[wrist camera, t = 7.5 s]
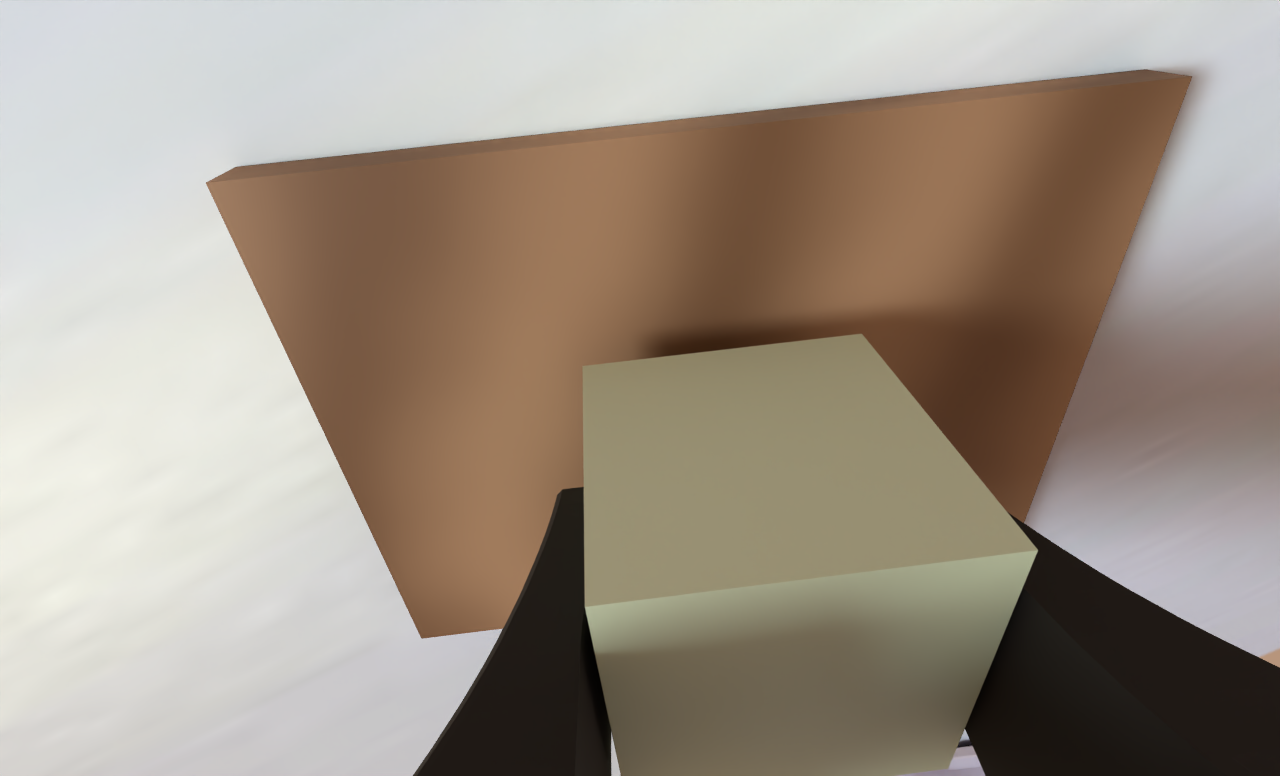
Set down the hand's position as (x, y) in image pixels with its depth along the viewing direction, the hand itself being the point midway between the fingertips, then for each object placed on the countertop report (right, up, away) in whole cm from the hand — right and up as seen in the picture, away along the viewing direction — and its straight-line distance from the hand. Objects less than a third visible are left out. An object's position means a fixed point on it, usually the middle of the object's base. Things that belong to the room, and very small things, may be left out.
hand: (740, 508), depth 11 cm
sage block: (0, +1, +1) cm, 1 cm away
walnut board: (0, +2, +3) cm, 3 cm away
